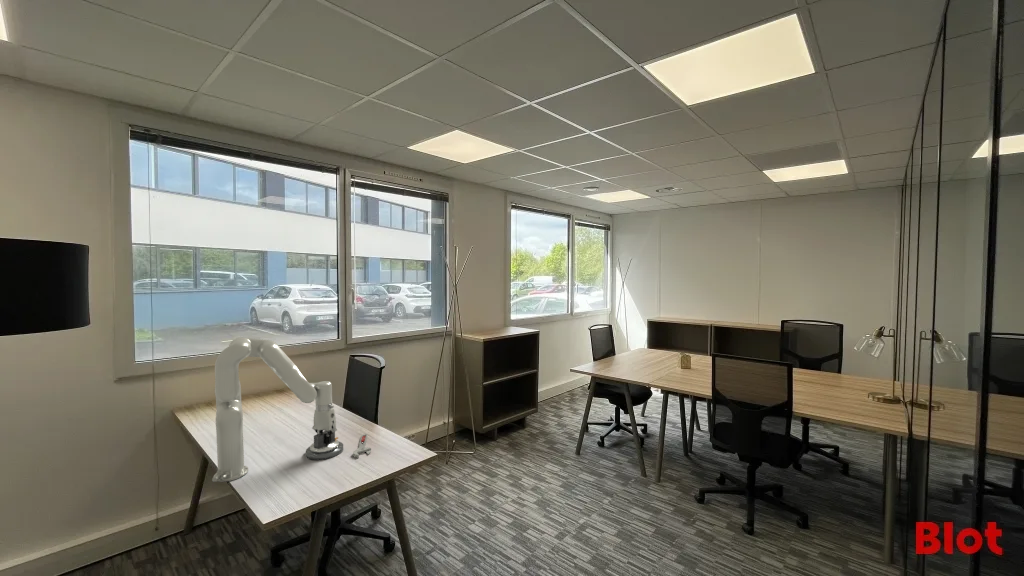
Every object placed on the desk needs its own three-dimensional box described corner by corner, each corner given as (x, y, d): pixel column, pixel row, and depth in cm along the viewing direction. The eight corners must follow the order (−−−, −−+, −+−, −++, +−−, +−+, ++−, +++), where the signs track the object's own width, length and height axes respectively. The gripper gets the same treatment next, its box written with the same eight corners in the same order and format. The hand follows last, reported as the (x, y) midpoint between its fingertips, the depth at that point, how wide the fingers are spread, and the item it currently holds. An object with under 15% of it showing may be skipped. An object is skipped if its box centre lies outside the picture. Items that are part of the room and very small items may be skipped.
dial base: (336, 459, 190) (336, 454, 190) (299, 461, 188) (299, 456, 188) (347, 443, 207) (347, 439, 207) (314, 445, 205) (313, 440, 205)
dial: (323, 455, 189) (322, 440, 188) (304, 450, 194) (303, 435, 194) (347, 443, 202) (346, 428, 202) (328, 438, 207) (328, 424, 207)
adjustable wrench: (377, 436, 218) (377, 432, 218) (369, 458, 192) (368, 453, 192) (361, 437, 216) (361, 433, 216) (351, 459, 191) (350, 455, 190)
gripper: (343, 405, 198) (344, 441, 199) (315, 402, 202) (316, 438, 203) (332, 411, 191) (333, 448, 192) (304, 407, 195) (305, 444, 196)
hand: (324, 442), depth 197 cm, fingers closed on dial, 3 cm apart
